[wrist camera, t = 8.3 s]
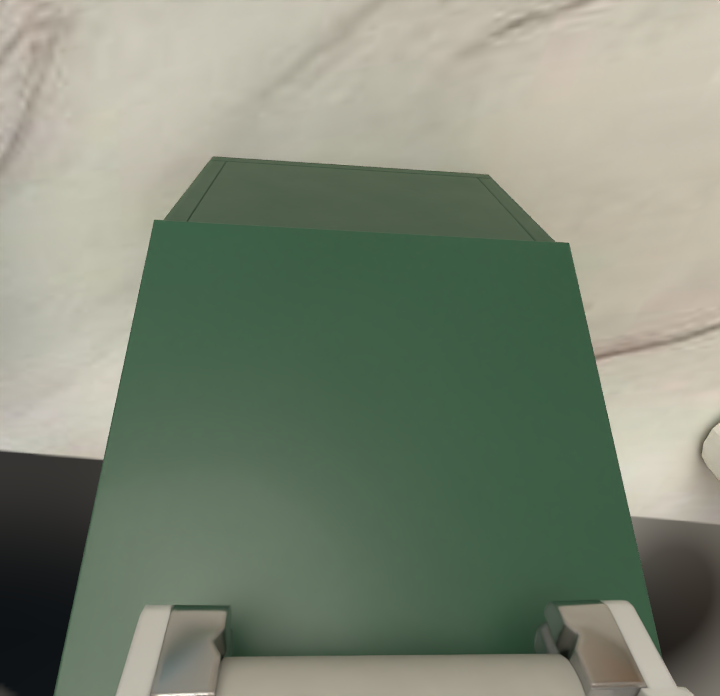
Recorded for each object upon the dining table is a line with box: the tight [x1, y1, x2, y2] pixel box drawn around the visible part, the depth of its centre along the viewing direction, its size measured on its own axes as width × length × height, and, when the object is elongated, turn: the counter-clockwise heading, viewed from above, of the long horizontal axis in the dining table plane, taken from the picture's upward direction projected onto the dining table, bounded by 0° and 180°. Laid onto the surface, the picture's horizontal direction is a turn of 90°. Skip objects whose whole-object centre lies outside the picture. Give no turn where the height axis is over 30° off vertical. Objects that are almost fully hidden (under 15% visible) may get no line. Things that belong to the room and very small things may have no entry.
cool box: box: [164, 157, 555, 242], centre depth 27 cm, size 15×14×10 cm
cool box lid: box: [54, 220, 662, 696], centre depth 13 cm, size 15×14×5 cm
